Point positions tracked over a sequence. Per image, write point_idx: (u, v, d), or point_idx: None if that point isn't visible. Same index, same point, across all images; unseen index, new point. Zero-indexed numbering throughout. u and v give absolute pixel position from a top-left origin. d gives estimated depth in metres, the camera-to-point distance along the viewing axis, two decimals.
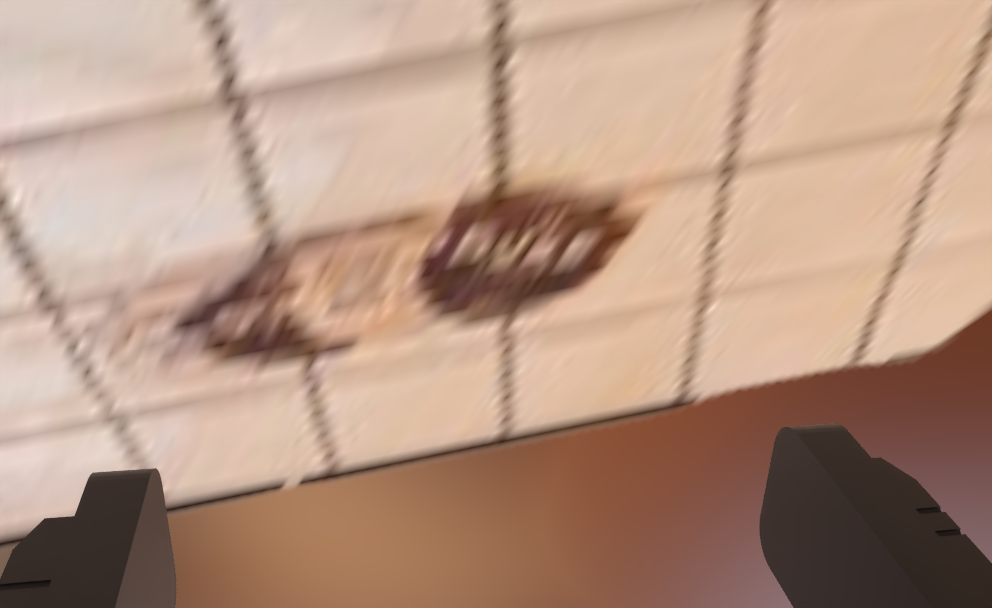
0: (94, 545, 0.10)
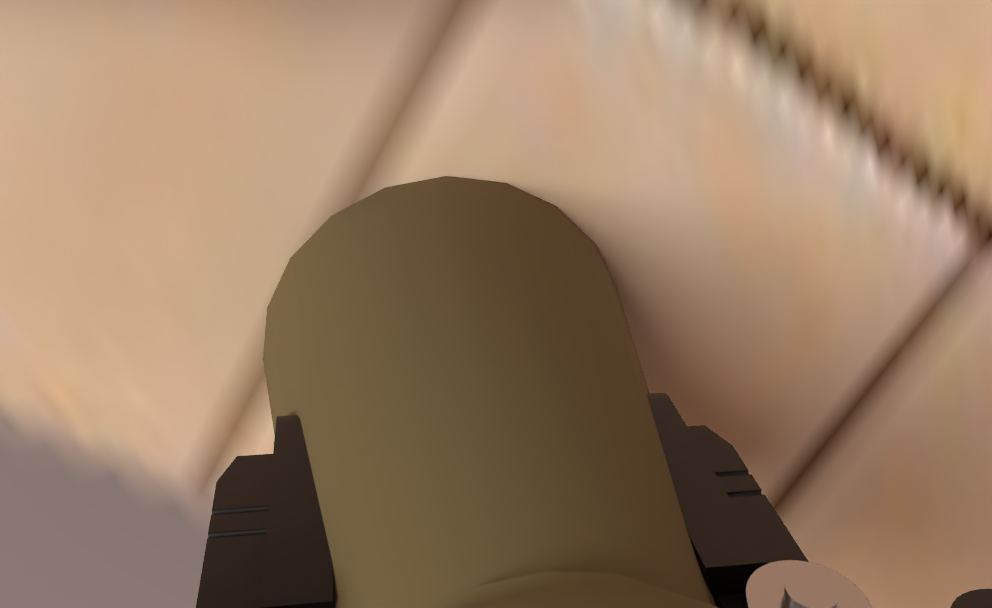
0: (298, 474, 0.11)
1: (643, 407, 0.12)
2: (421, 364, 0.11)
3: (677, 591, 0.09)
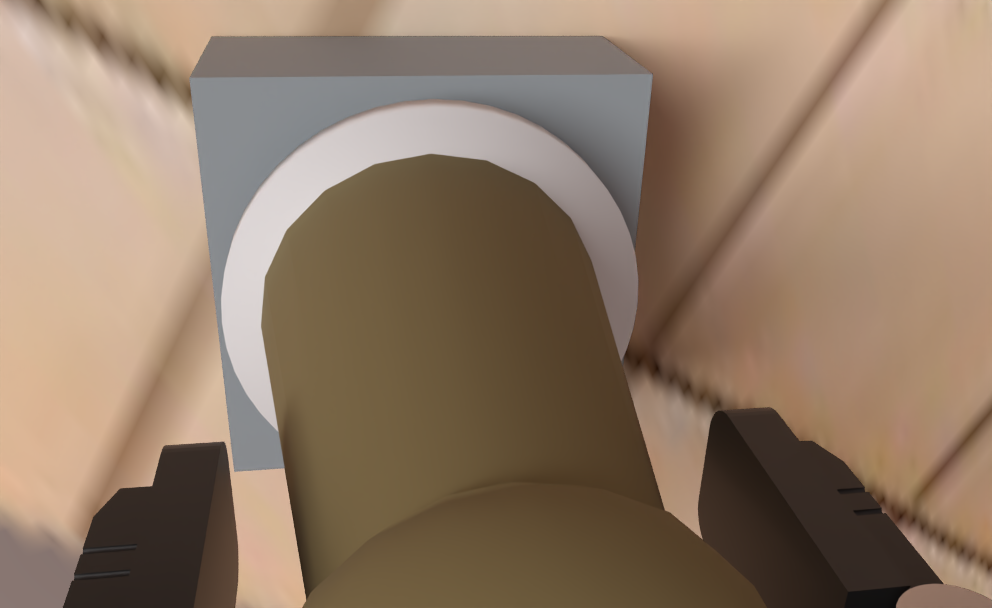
0: (174, 511, 0.10)
1: (609, 357, 0.13)
2: (406, 315, 0.12)
3: None
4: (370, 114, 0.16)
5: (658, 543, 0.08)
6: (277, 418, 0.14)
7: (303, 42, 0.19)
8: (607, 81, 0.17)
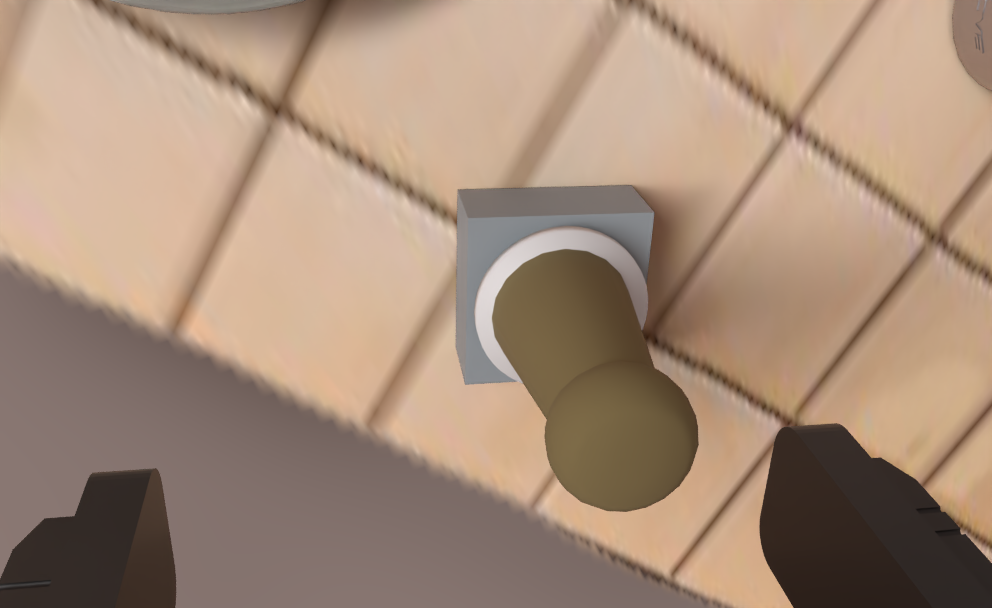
0: (94, 545, 0.10)
1: (638, 329, 0.36)
2: (570, 314, 0.36)
3: None
4: (541, 233, 0.39)
5: (655, 373, 0.32)
6: (514, 352, 0.37)
7: (499, 193, 0.42)
8: (635, 215, 0.40)
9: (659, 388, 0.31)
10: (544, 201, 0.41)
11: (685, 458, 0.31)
